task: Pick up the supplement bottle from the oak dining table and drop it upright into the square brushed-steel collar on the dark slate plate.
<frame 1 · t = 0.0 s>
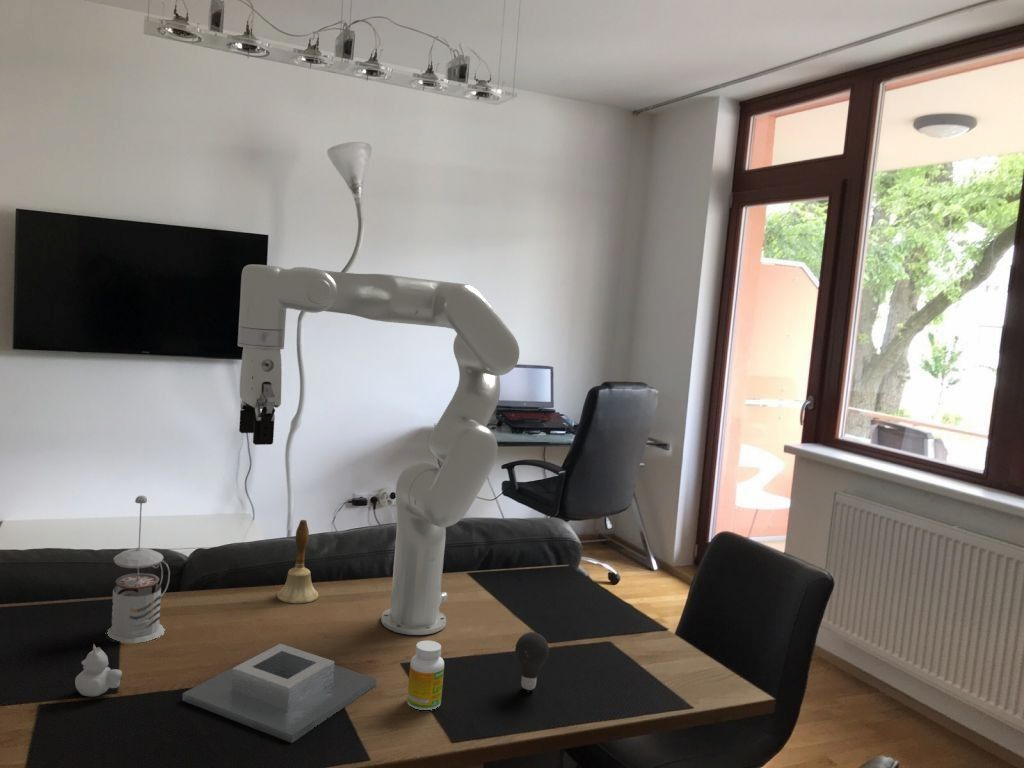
hand: (255, 438, 145), 37 cm above the table, tool pointing down, fingers open, 9 cm apart
light bulb: (527, 691, 142), on the table
french press: (139, 631, 151), on the table
collar plate: (282, 692, 134), on the table
supplement bottle: (423, 704, 135), on the table
rubber duck: (98, 695, 129), on the table
hand bell: (297, 597, 174), on the table
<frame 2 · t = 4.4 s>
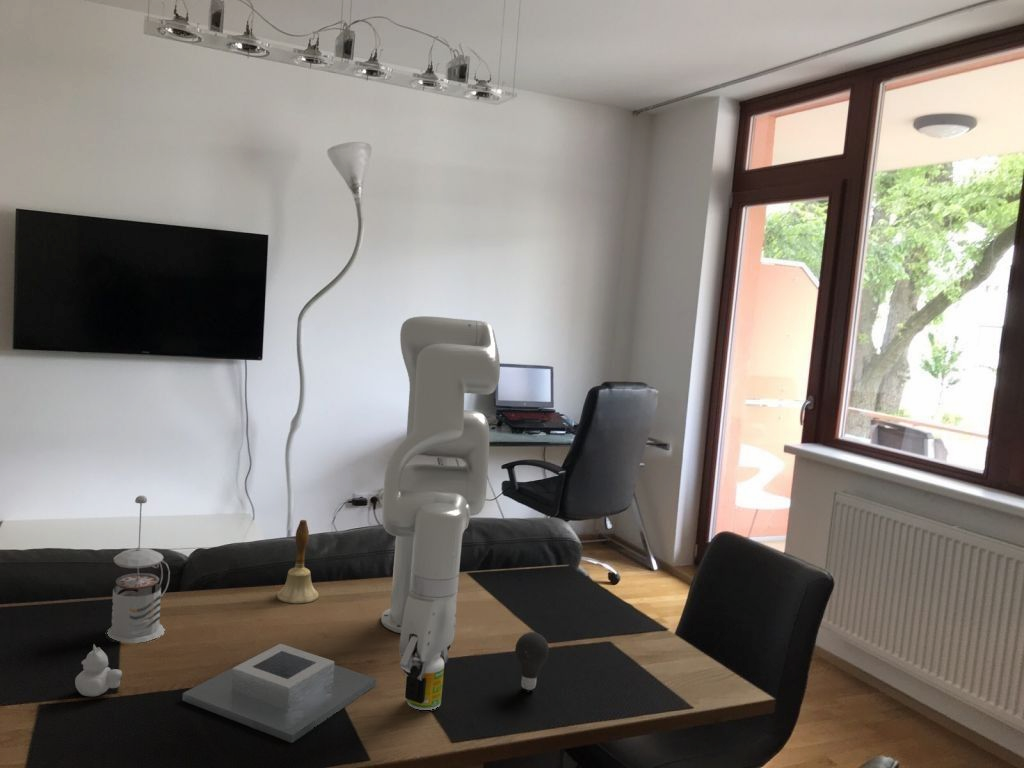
hand: (424, 691, 134), 2 cm above the table, tool pointing down, fingers closed on supplement bottle, 5 cm apart
supplement bottle: (423, 704, 135), on the table, touching gripper
everything else where it was.
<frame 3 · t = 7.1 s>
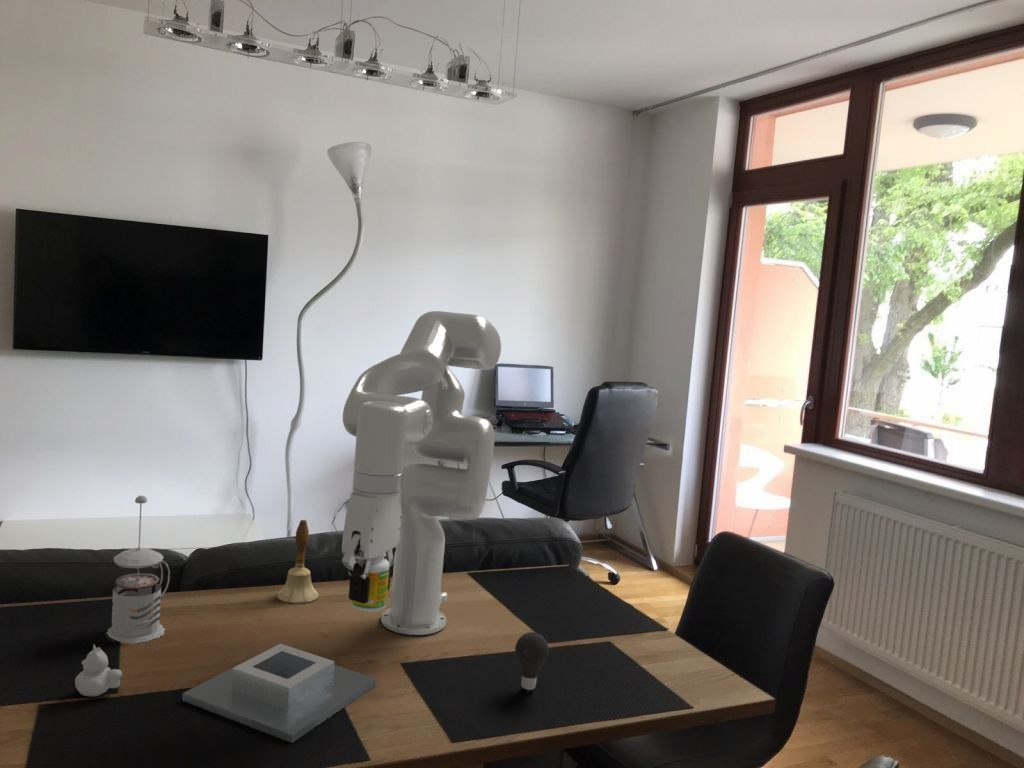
hand: (369, 593, 132), 17 cm above the table, tool pointing down, fingers closed on supplement bottle, 5 cm apart
supplement bottle: (368, 607, 133), point 15 cm above the table, touching gripper
everything else where it was.
when the fingers open (8 cm above the table, at t = 10.0 s): supplement bottle drops 5 cm, resting on collar plate.
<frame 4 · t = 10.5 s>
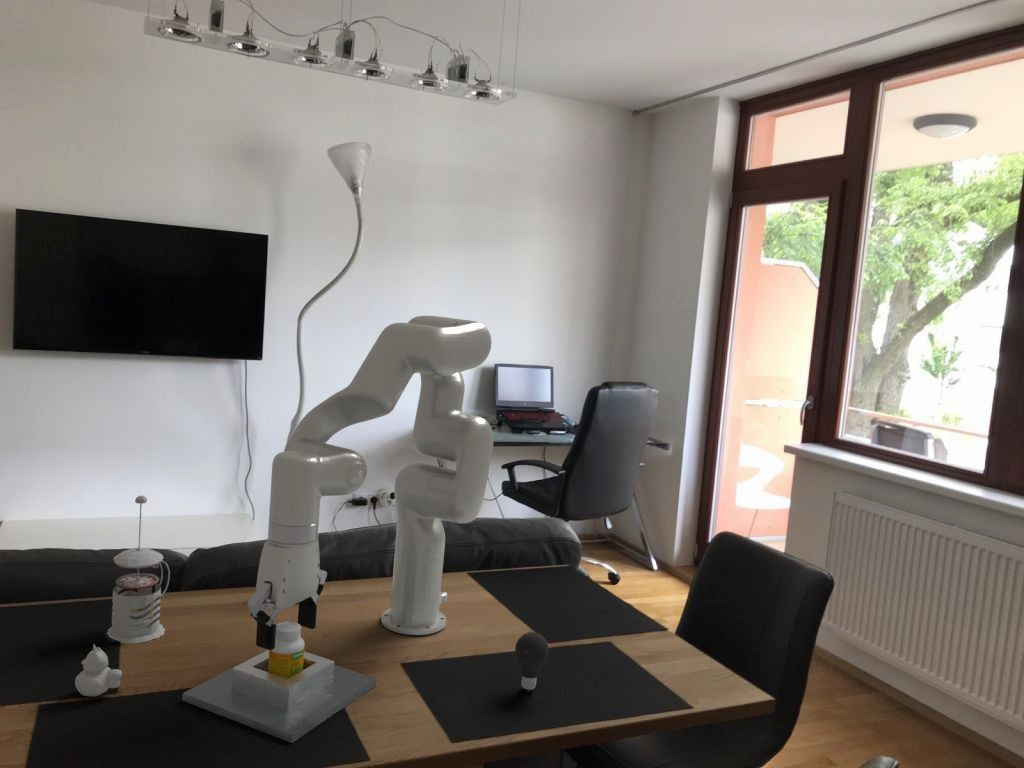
hand: (286, 636, 133), 9 cm above the table, tool pointing down, fingers open, 9 cm apart
supplement bottle: (284, 686, 134), point 1 cm above the table, touching collar plate
everything else where it was.
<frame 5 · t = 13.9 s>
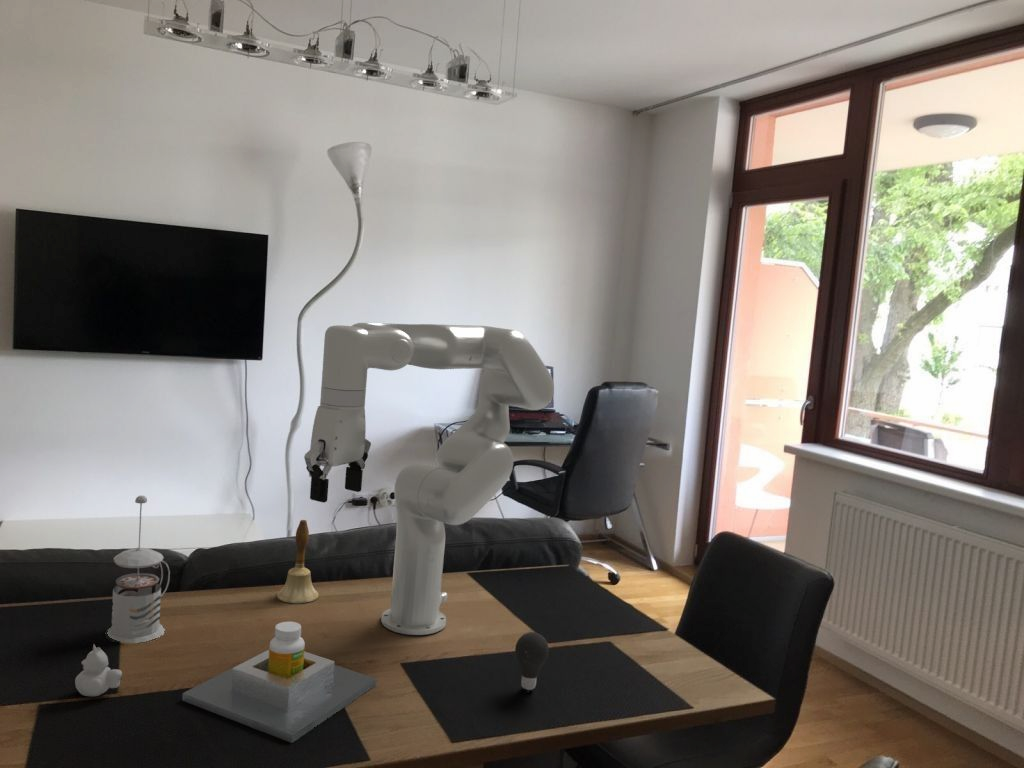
hand: (336, 495, 147), 28 cm above the table, tool pointing down, fingers open, 9 cm apart
nothing on the table moved.
at the end: supplement bottle 0.3 cm off-centre on the collar plate, point 1.0 cm above the collar plate's base; supplement bottle tilted 0°; the gripper is holding nothing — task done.
